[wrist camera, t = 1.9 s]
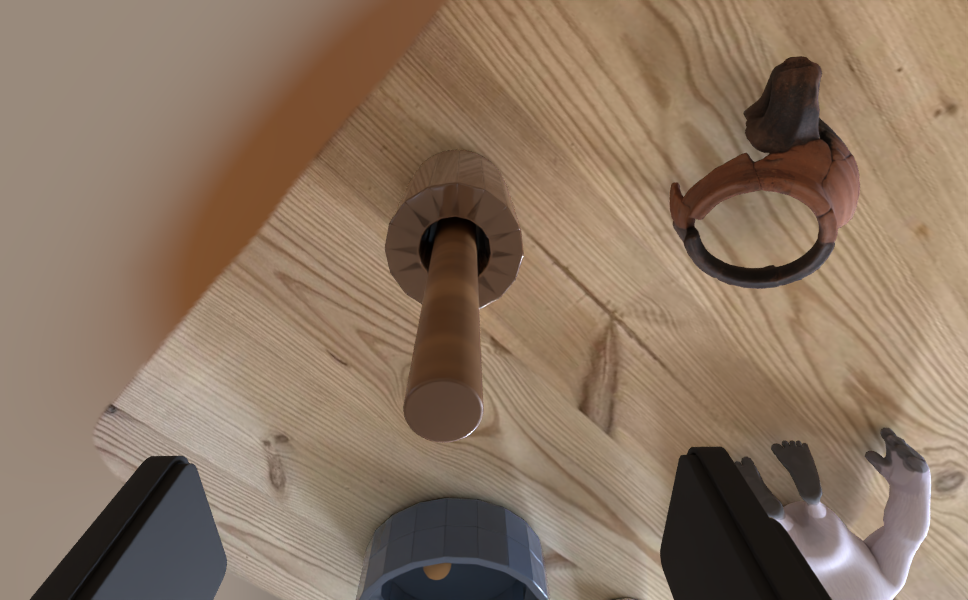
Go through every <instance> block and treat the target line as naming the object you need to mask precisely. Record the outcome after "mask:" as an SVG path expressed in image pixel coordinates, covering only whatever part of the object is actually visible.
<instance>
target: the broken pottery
mask: <svg viewBox="0 0 968 600" xmlns="http://www.w3.org/2000/svg"><path fill="white" fill-rule="evenodd" d="M821 76H822V71H821V68H820V66H819V65H818V64H816V63H814V62H811V61H810V60H809V59H808V58H806V57H790V58H788V59H786V60H785V61H784V62H783V63H782V64H780V65H778V66H776V67H775V68H774V69H773V71H772V73H771V75H770V78H769V80H768V83H767V85H766V88H765V90H764V92H763V94H762V96H761V98H760V99H759V100H758V101H757V102H755V103H754V104H753V105H751V106H750V107H749V108H748V109H746V110H745V111H744V116H745V118H746V119H747V121H746V126H747V128H746V130H745V134H746V137H747V139H748V140H749V141H750V142H751V144H752V146H753V147H755V148H756V149H757V150H759V151H761V152H764V153H770V154H769V155H768V156H766V157H765V158H764V159H762V160H759V161H757V162H753V161H752V159H751V158H750V156H749V155H748V154H747V153H744V154H741V155H739V156H737V157H736V158H734V159H732V160H730V161H728V162H727V163H725V164H724V165H721V166H719V167H717V168H715V169H714V170H713V171H712V172H710V173H709V174H708V175H707V176H705V177H704V178H703V179H701V180H700V181H698V182H697V183H696V184H695V185H694V186H693V187H692V188H691V189H690V190H689V191H688V192H687V193H686V195H685V196H684V197H683V196H682V194H681V191H680V185H679V183H672V185H671V190H670V212H671V216H672V219H673V220H674V221H673V227H674V229H675V230H676V232H677V234H678V235H679V237H680V238H681V240H682V241H683V243H684V246H685V248H686V250H687V253H688V255H689V256H690V257H691V259H692V260H693V262H694V263H695V264H696V265H697V266H698V267H699V268H700V269H701V270H702V271H703V272H705V273H706V274H708V275H710V276H711V277H714V278H717V279H718V280H719V281H722V282H725V283H727V284H729V285H736V286H740V287H743V288H757V289H759V288H761V289H762V288H772V287H778V286H780V285H786V284H789V283H792V282H794V281H798V280H801V279H802V278H804V277H806V276H808V275H810V274H812V273H813V272H814V271H816V270H817V269H819V268H820V266H821V265H822V264H823V263H824V262H825V261H826V260H827V258H828V257H829V255H830V254H831V252H832V250H833V249H834V246H835V243H834V242H835V240H836V238H837V233H838V228H841V227H842V226H843V225H845V224H847V223H848V221H849V220H851V219H852V217H853V215H854V213H855V210H856V207H857V203H858V198H859V194H860V182H859V170H858V166H857V163H856V161H855V159H854V156H853V155H852V154H851V152H850V151H849V150H848V148H847V147H846V145H845V144H844V143H843V141H842V140H841V139H840V138H839V137H838V136H837V135H836V133H835V132H834V131H833V130H832V129H831V128H830V127H829V126H828V125H827V124H826V123H824V122H823V121H822V120H821V119H820V118H819V111H820V109H819V102H818V95H819V86H820V79H821ZM819 137H820V138H819ZM759 190H764V191H773V192H778V193H782V194H786V195H789V196H792V197H793V198H796V199H798V200H800V201H801V202H803V203H804V204H805V205H807V206H808V207H809V208H810V209H811V210H812V211H813V212H814V214H815V215H816V218H817V220H818V223H819V233H818V239H817V241H816V243H815V244H814V246H813V247H812V248H811V249H810V250H809V251H808V252H807V253H806V254H805V255H803V256H802V257H800V258H799V259H797V260H795V261H793V262H791V263H789V264H786V265H783V266H779V267H775V266H774V265H771V266H767V267H764V268H744V267H738V266H734V265H730V264H727V263H724V262H723V261H721V260H719V259H717V258H715V257H714V256H713V255H711V254H710V253H709V252H708V251H707V250H706V249H705V247H704V245H703V244H702V242H701V239H700V235H699V232H698V230H697V229H696V228H695V227H694V223H695V219H698V220H701V219H703V218H704V217H705V216H706V215H707V214H708V213H709V212H710V211H711V210H712V209H713V208H714V207H715V206H716V205H717V204H719V203H720V202H722V201H724V200H726V199H728V198H731V197H733V196H736V195H740V194H743V193H748V192H754V191H759Z"/></svg>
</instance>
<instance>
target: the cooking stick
mask: <svg viewBox="0 0 968 600" xmlns="http://www.w3.org/2000/svg"><path fill="white" fill-rule="evenodd" d="M483 410H484V408H483V385H482V362H481V339H480V316H479V292H478V269H477V246H476V224H475V223H473V222H472V221H471V220H468V219H464V218H459V217H449V218H442V219H440V220H439V221H438V223H437V229H436V234H435V239H434V245H433V250H432V255H431V261H430V266H429V271H428V277H427V282H426V287H425V293H424V298H423V303H422V309H421V314H420V319H419V325H418V330H417V336H416V341H415V346H414V352H413V357H412V362H411V368H410V373H409V378H408V384H407V389H406V394H405V400H404V406H403V412H404V417H405V420H406V421H407V423H408V425H409V426H410V428H411V429H412V430H413V431H414V432H415V433H416V434H418V435H419V436H421V437H423V438H425V439H427V440H430V441H435V442H453V441H457V440H460V439H463V438H465V437H466V436H468V435H470V434H471V433H472V432H473V431H474V430H475V429H476V428H477V427H478V425H479V424H480V422H481V420H482V417H483Z"/></svg>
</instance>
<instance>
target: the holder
mask: <svg viewBox="0 0 968 600" xmlns="http://www.w3.org/2000/svg"><path fill="white" fill-rule="evenodd" d="M449 217H459V218H464V219H468V220H471V221H472V222H473V223H475V224H476V246H477V269H478V292H479V309H480V308H482V307H484V306H486V305H488V304H490V303H492V302H493V301H495V300H497V299H499V298H500V297H501V296H502V295H503V294H504V293H505V292H506V291H507V289H508V288H509V287H510V286H511V285H512V283H513V282H514V281H515V280H516V277H517V275H518V271H519V268H520V265H521V262H522V259H523V254H524V252H523V243H522V234H521V228H520V225H519V222H518V219H517V215H516V212H515V209H514V206H513V202H512V199H511V196H510V192H509V189H508V186H507V184H506V182H505V180H504V178H503V176H502V174H501V173H500V171H499V170H498V169H497V167H496V166H495V165H494V164H493V163H491V162H490V161H489V160H488V159H486V158H485V157H483V156H481V155H479V154H477V153H474V152H472V151H467V150H458V149H456V150H447V151H443V152H440V153H438V154H435V155H433V156H432V157H430V158H429V159H427V160H426V161H425V162H424V163H422V164H421V165H420V166H419V168H418V169H417V170H416V172H415V173H414V175H413V177H412V178H411V180H410V181H409V183H408V186H407V188H406V190H405V192H404V194H403V196H402V198H401V200H400V202H399V204H398V207H397V209H396V211H395V213H394V215H393V217H392V219H391V221H390V223H389V228H388V233H387V238H386V244H385V252H386V256H387V261H388V265H389V269H390V273H391V274H392V276H393V277H394V278H395V280H396V281H397V283H398V284H399V285H400V287H401V288H402V289H403V291H404V292H405V293H407V295H408V296H410V297H411V298H413V299H415V300H416V301H418V302H419V303H421V304H422V303H423V298H424V293H425V287H426V282H427V277H428V271H429V266H430V261H431V255H432V250H433V245H434V239H435V234H436V229H437V223H438V221H439V220H440V219H442V218H449Z"/></svg>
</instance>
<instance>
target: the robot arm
mask: <svg viewBox="0 0 968 600" xmlns="http://www.w3.org/2000/svg"><path fill="white" fill-rule="evenodd" d="M660 557H661V564H662V568H663V571H664V574H665V577H666V579H667V582H668V585H669V587H670V590H671V593H672V596H673V598H674V600H832V599H831V597H830V596H829V594H828V593H827V591H826V590H825V588H824V587H823V585H822V584H821V582H820V581H819V579H818V578H817V576H816V575H815V573H814V572H813V570H812V569H811V567H810V565H809V564H808V562H807V561H806V559H805V558H804V556H803V555H802V553H801V552H800V550H799V549H798V547H797V546H796V544H795V543H794V541H793V540H792V538H791V537H790V535H789V534H788V532H787V531H786V529H785V528H784V527H783V526H782V525H781V523H779V522H778V521H777V520H775V519H773V518H769V516H768V515H767V513H766V512H765V510H764V509H763V507H762V505H761V504H760V502H759V501H758V499H757V498H756V496H755V495H754V493H753V491H752V490H751V488H750V487H749V485H748V484H747V482H746V481H745V479H744V477H743V476H742V474H741V473H740V471H739V470H738V468H737V466H736V465H735V463H734V462H733V460H732V459H731V457H730V456H729V454H728V452H727V451H726V450H725V449H724V448H722V447H691V448H690V449H689V450H688V453H687V455H681V456H680V458H679V462H678V466H677V471H676V476H675V481H674V486H673V491H672V495H671V500H670V505H669V510H668V515H667V520H666V524H665V529H664V534H663V539H662V544H661V549H660ZM226 566H227V559H226V555H225V552H224V549H223V546H222V543H221V540H220V537H219V534H218V531H217V528H216V525H215V522H214V519H213V516H212V513H211V510H210V507H209V504H208V501H207V498H206V495H205V492H204V489H203V486H202V483H201V480H200V477H199V474H198V471H197V468H196V466H195V465H194V464H190V463H189V462H188V460H187V458H185V457H184V456H151V457H149V458H147V459H146V460H145V461H144V462H143V463H142V464H141V465H140V466H139V468H138V469H137V470H136V471H135V472H134V474H133V475H132V476H131V477H130V479H129V480H128V481H127V482H126V483H125V485H124V486H123V487H122V488H121V490H120V491H119V492H118V493H117V494H116V496H115V497H114V498H113V499H112V500H111V502H110V503H109V504H108V505H107V506H106V508H105V509H104V510H103V511H102V512H101V514H100V515H99V516H98V517H97V519H96V520H95V521H94V522H93V524H92V525H91V526H90V527H89V528H88V529H87V531H86V532H85V533H84V534H83V536H82V537H81V538H80V539H79V540H78V542H77V543H76V544H75V545H74V546H73V548H72V549H71V550H70V552H69V553H68V554H67V555H66V556H65V558H64V559H63V560H62V561H61V562H60V563H59V565H58V566H57V567H56V568H55V570H54V571H53V572H52V573H51V575H50V576H49V577H48V578H47V579H46V581H45V582H44V583H43V584H42V585H41V587H40V588H39V589H38V590H37V591H36V593H35V594H34V595H33V596H32V597H31V599H30V600H213V599H214V597H215V595H216V593H217V591H218V588H219V586H220V584H221V582H222V580H223V578H224V575H225V572H226Z"/></svg>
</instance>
